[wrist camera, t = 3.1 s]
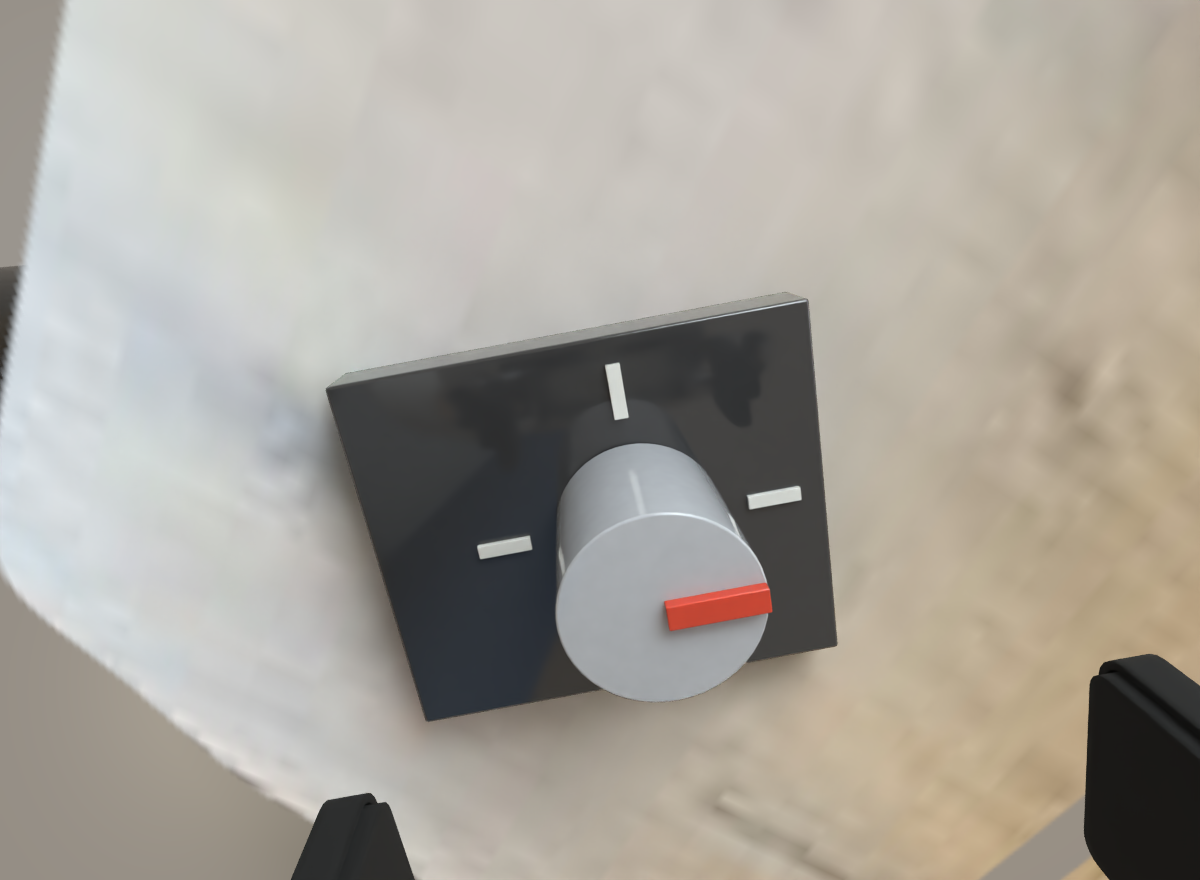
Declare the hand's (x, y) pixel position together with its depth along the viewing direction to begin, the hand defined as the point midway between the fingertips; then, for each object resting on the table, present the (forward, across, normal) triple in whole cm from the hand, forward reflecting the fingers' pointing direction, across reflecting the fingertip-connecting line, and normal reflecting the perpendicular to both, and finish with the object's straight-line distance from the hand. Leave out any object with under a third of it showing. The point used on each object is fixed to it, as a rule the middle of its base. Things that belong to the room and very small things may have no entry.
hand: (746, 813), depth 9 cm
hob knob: (+10, 0, 0) cm, 10 cm away
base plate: (+13, +2, 0) cm, 13 cm away
